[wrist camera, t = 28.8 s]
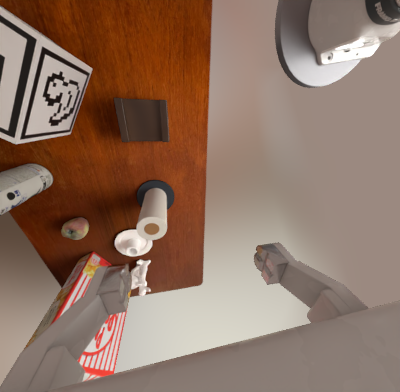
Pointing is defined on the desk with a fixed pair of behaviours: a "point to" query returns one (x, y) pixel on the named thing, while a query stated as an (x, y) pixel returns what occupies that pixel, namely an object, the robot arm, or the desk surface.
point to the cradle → (142, 119)
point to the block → (36, 83)
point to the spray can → (22, 184)
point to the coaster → (155, 184)
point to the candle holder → (132, 243)
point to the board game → (109, 332)
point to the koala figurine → (140, 277)
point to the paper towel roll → (153, 215)
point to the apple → (75, 228)
